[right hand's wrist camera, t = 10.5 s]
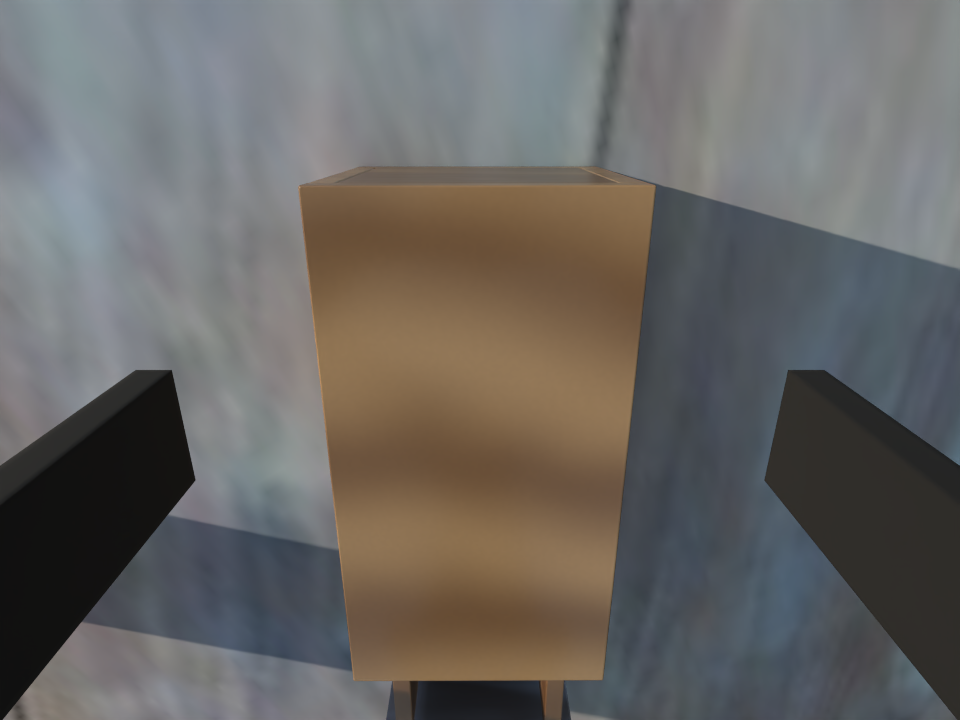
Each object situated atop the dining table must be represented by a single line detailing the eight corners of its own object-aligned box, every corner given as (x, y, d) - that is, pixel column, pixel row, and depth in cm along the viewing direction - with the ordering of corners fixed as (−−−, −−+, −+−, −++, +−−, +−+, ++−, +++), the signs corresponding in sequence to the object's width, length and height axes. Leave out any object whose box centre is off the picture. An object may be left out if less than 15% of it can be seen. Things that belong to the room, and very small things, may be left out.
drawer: (551, 716, 37) (568, 848, 30) (405, 716, 37) (389, 849, 30) (575, 351, 28) (606, 423, 21) (380, 352, 28) (349, 424, 21)
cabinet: (570, 537, 33) (603, 680, 24) (385, 537, 33) (353, 681, 24) (596, 166, 25) (656, 185, 17) (358, 166, 25) (297, 185, 17)
